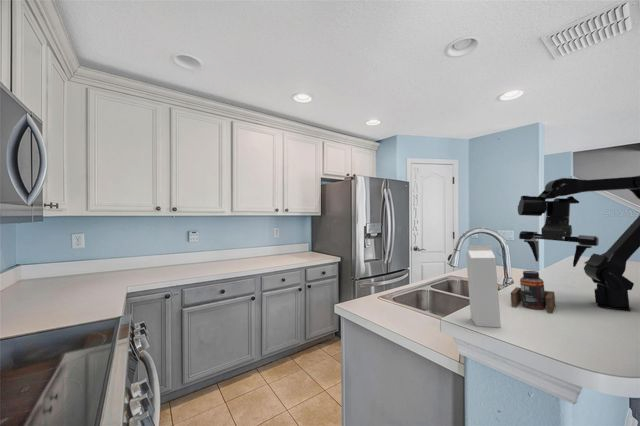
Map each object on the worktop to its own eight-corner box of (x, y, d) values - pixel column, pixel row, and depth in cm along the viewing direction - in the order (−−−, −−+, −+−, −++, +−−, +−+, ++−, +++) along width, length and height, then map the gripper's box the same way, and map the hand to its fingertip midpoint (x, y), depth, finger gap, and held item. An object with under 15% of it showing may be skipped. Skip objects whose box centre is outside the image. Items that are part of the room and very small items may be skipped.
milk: (470, 318, 76) (464, 244, 77) (494, 319, 74) (487, 243, 75) (476, 326, 70) (469, 246, 72) (501, 328, 69) (494, 245, 70)
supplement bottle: (544, 305, 83) (542, 270, 84) (547, 311, 78) (544, 274, 79) (521, 302, 87) (518, 269, 87) (522, 308, 82) (519, 272, 82)
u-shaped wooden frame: (555, 305, 82) (554, 291, 82) (552, 313, 76) (550, 298, 77) (517, 300, 90) (516, 287, 90) (511, 306, 84) (510, 292, 84)
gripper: (515, 215, 87) (512, 260, 87) (595, 217, 72) (592, 272, 72) (525, 216, 94) (522, 258, 94) (600, 218, 79) (597, 268, 79)
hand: (554, 263), depth 85 cm, fingers open, 9 cm apart
